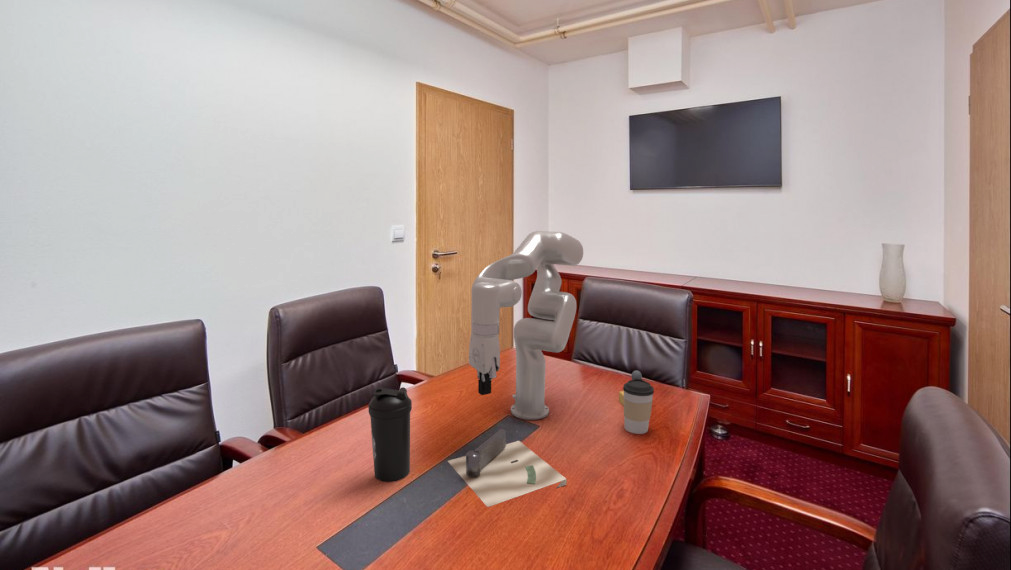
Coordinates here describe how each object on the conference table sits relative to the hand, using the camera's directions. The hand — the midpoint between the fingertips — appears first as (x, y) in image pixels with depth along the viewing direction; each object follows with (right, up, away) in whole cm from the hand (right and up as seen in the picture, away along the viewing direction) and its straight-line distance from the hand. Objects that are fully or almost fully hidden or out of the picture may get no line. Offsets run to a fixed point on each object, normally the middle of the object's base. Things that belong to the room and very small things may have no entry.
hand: (484, 393), depth 130 cm
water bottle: (-23, -19, -12) cm, 31 cm away
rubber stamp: (+51, -12, +34) cm, 63 cm away
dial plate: (+6, -18, -10) cm, 22 cm away
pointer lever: (+1, -16, -7) cm, 17 cm away
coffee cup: (+46, -15, +15) cm, 51 cm away
